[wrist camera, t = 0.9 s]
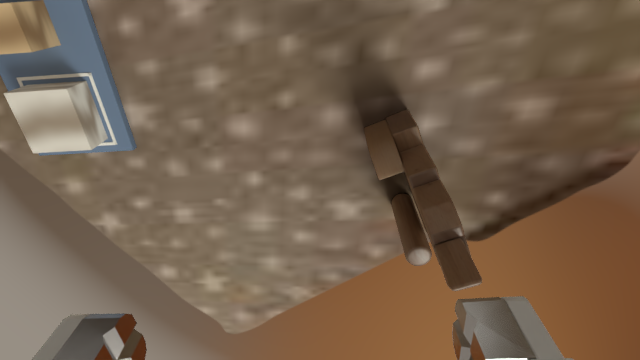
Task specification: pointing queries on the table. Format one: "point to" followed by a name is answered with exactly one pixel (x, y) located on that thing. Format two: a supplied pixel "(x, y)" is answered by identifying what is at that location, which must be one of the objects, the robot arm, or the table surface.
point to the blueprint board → (73, 69)
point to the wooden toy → (421, 200)
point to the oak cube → (26, 27)
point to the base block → (57, 116)
